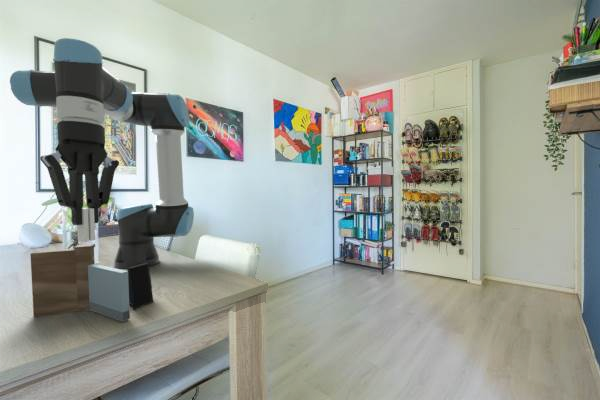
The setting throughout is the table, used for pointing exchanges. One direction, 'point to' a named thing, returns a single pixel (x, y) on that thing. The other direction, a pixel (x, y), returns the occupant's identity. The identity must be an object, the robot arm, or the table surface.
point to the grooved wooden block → (61, 280)
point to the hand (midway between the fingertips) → (86, 240)
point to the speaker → (140, 286)
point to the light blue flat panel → (109, 291)
